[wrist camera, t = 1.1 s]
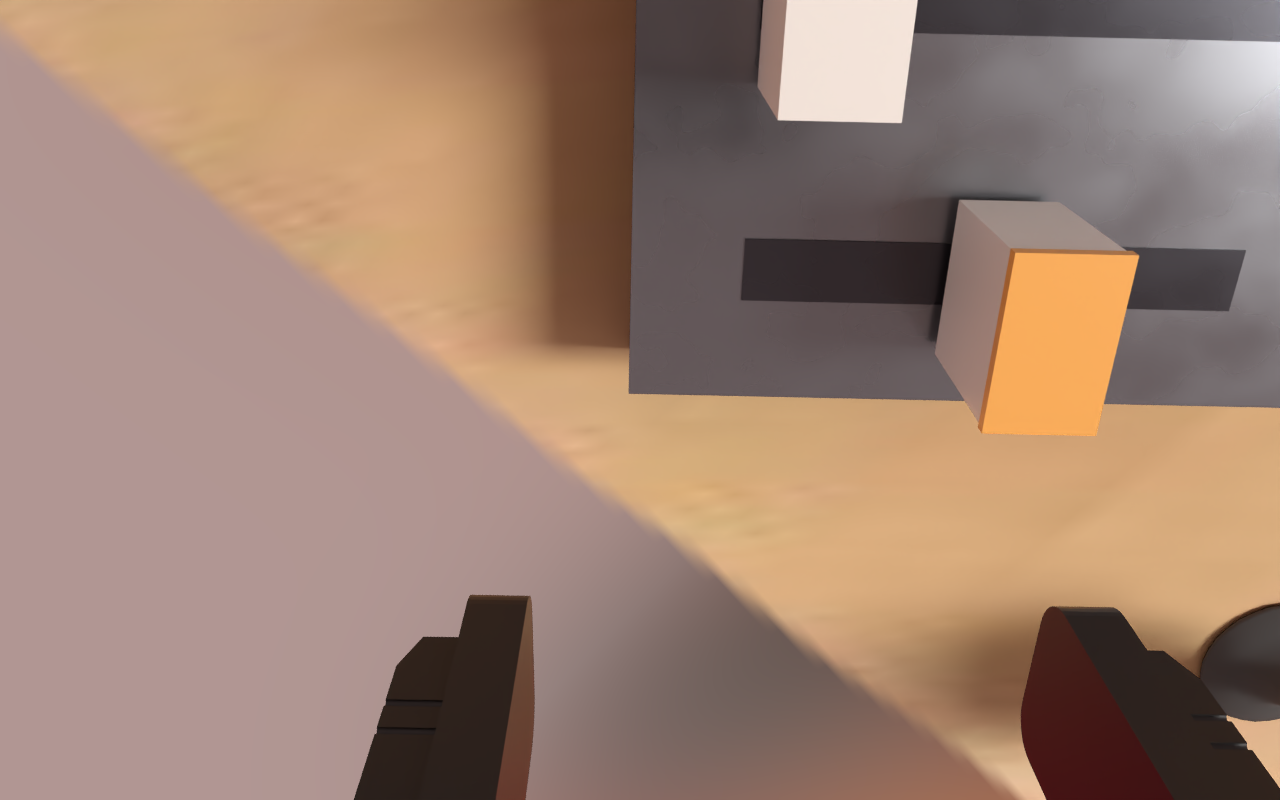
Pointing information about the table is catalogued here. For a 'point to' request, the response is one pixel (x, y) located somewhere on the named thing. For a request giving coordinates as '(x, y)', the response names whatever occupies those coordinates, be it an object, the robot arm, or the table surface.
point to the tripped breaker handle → (1032, 316)
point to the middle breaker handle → (836, 59)
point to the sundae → (1247, 667)
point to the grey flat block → (956, 196)
